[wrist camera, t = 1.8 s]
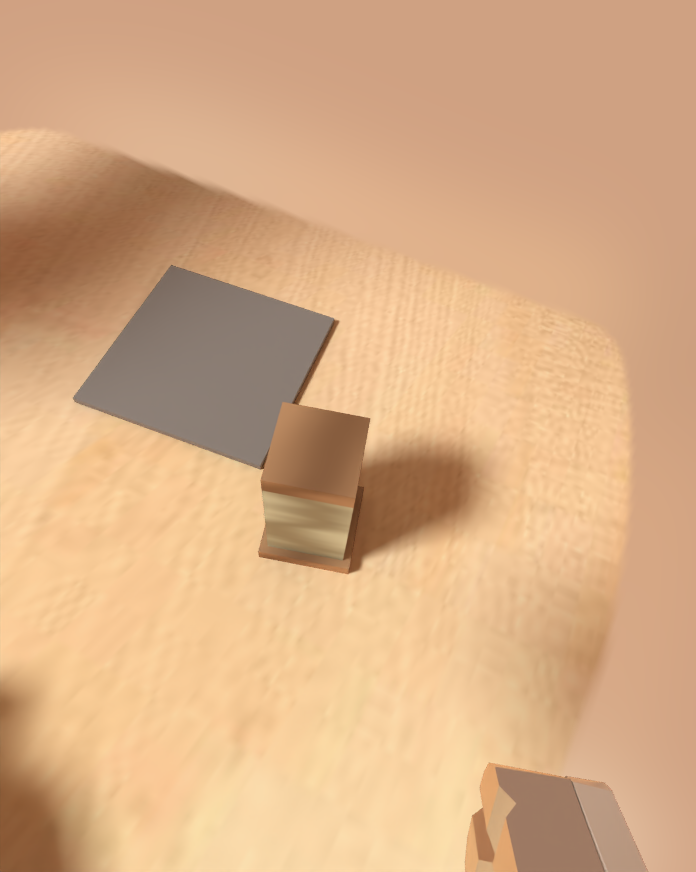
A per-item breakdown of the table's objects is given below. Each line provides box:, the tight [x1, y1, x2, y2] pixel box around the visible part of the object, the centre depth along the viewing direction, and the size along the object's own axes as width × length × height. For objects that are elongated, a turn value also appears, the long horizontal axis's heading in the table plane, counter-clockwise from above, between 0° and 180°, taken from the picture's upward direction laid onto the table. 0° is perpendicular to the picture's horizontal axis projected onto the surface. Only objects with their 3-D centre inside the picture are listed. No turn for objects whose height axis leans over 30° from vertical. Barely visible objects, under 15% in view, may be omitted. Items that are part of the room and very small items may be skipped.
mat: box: [73, 265, 334, 469], centre depth 38 cm, size 12×12×1 cm
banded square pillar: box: [258, 402, 370, 574], centre depth 30 cm, size 5×5×8 cm
